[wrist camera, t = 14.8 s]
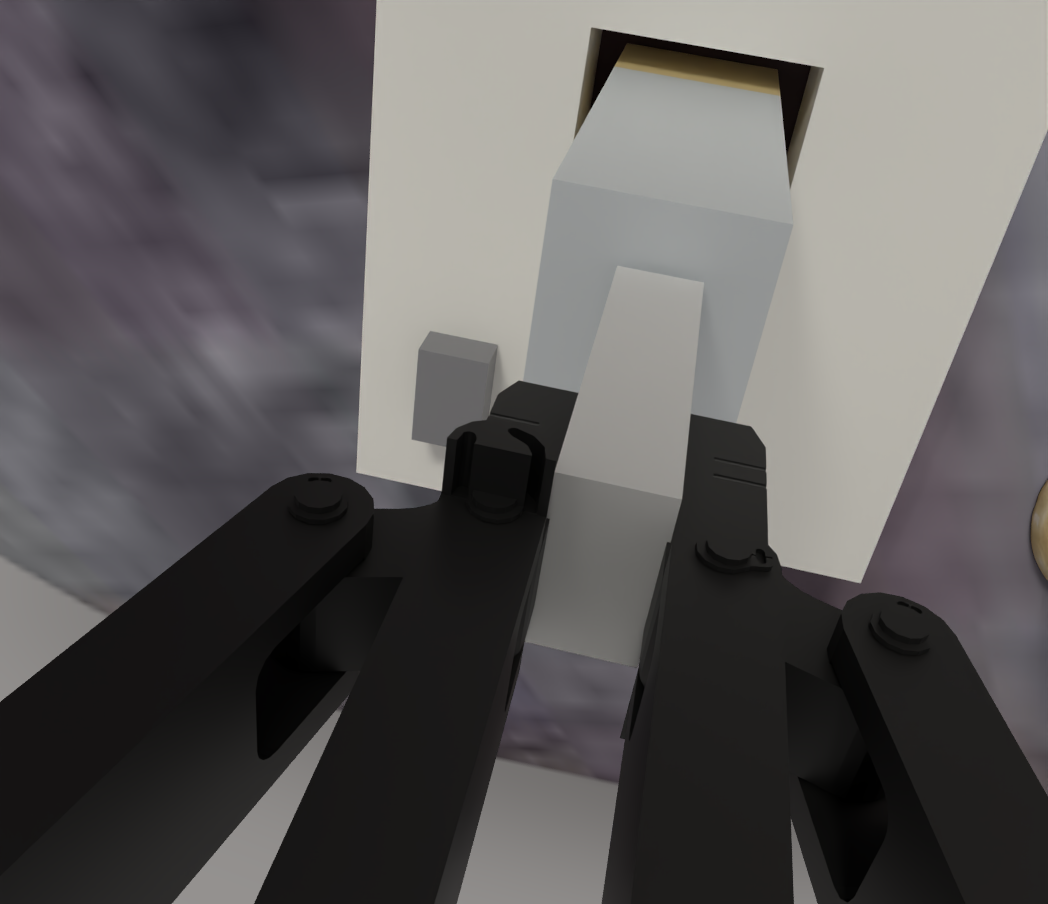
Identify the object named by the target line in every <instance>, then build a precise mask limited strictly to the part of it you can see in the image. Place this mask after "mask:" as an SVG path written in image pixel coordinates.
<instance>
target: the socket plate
mask: <svg viewBox="0 0 1048 904" xmlns="http://www.w3.org/2000/svg"><path fill="white" fill-rule="evenodd" d="M603 29H604V30H610V31H616V32H622V33H627V34H633V35H639V36H644V37H650V38H656V39H662V40H667V41H673V42H679V43H685V44H690V45H696V46H702V47H707V48H713V49H719V50H725V51H730V52H736V53H742V54H748V55H753V56H759V57H765V58H770V59H776V60H782V61H788V62H793V63H799V64H805V65H810V66H811V69H810V72H809V76H808V80H807V83H806V87H805V91H804V94H803V98H802V102H801V105H800V109H799V113H798V116H797V120H796V123H795V127H794V131H793V134H792V138H791V142H790V145H789V149H788V153H787V166H788V176H789V185H790V195H791V205H792V215H793V228H792V231H791V235H790V238H789V242H788V245H787V249H786V252H785V256H784V259H783V263H782V266H781V269H780V273H779V276H778V280H777V283H776V287H775V290H774V294H773V297H772V301H771V304H770V308H769V311H768V314H767V318H766V321H765V325H764V328H763V332H762V335H761V339H760V342H759V346H758V349H757V353H756V356H755V359H754V363H753V366H752V370H751V373H750V377H749V380H748V384H747V387H746V391H745V394H744V397H743V401H742V404H741V408H740V411H739V415H738V418H737V422H736V423H737V424H742V425H747V426H751V427H752V428H753V429H754V431H755V432H756V434H757V435H758V437H759V438H760V440H761V441H762V443H763V444H764V446H765V447H766V474H767V486H766V489H767V514H768V545H769V546H770V547H771V548H772V549H773V551H774V552H775V553H776V554H777V556H778V559H779V562H780V565H781V566H785V567H789V568H794V569H798V570H803V571H807V572H812V573H816V574H821V575H826V576H830V577H835V578H839V579H844V580H848V581H853V582H857V583H861V581H862V579H863V576H864V574H865V571H866V569H867V566H868V564H869V562H870V559H871V557H872V554H873V552H874V550H875V547H876V545H877V542H878V540H879V537H880V535H881V533H882V530H883V528H884V525H885V523H886V520H887V518H888V516H889V513H890V511H891V508H892V506H893V503H894V501H895V499H896V496H897V494H898V491H899V489H900V487H901V484H902V482H903V479H904V477H905V474H906V472H907V470H908V467H909V465H910V462H911V460H912V457H913V455H914V453H915V450H916V448H917V445H918V443H919V440H920V438H921V436H922V433H923V431H924V428H925V426H926V424H927V421H928V419H929V416H930V414H931V411H932V409H933V407H934V404H935V402H936V399H937V397H938V394H939V392H940V390H941V387H942V385H943V382H944V380H945V377H946V375H947V373H948V370H949V368H950V365H951V363H952V361H953V358H954V356H955V353H956V351H957V348H958V346H959V344H960V341H961V339H962V336H963V334H964V331H965V329H966V327H967V324H968V322H969V319H970V317H971V314H972V312H973V310H974V307H975V305H976V302H977V300H978V297H979V295H980V293H981V290H982V288H983V285H984V283H985V281H986V278H987V276H988V273H989V271H990V268H991V266H992V264H993V261H994V259H995V256H996V254H997V251H998V249H999V247H1000V244H1001V242H1002V239H1003V237H1004V234H1005V232H1006V230H1007V227H1008V225H1009V222H1010V220H1011V218H1012V215H1013V213H1014V210H1015V208H1016V205H1017V203H1018V201H1019V198H1020V196H1021V193H1022V191H1023V188H1024V186H1025V184H1026V181H1027V179H1028V176H1029V174H1030V171H1031V169H1032V167H1033V164H1034V162H1035V159H1036V157H1037V155H1038V152H1039V150H1040V147H1041V145H1042V142H1043V140H1044V138H1045V135H1046V133H1047V130H1048V0H377V6H376V30H375V53H374V76H373V99H372V122H371V146H370V169H369V192H368V215H367V238H366V261H365V285H364V308H363V331H362V354H361V377H360V400H359V424H358V447H357V470H356V472H357V473H361V474H366V475H370V476H375V477H379V478H384V479H388V480H393V481H398V482H402V483H407V484H411V485H416V486H420V487H425V488H429V489H434V490H439V491H442V482H443V472H444V463H445V453H446V443H447V437H448V436H449V435H450V434H451V433H452V432H453V431H454V430H455V429H456V428H457V427H460V426H462V425H465V424H467V423H470V422H472V421H481V420H487V418H488V416H489V415H490V411H491V409H492V407H493V404H494V402H495V400H496V398H497V395H498V394H499V393H500V392H502V391H503V390H505V389H506V388H508V387H509V386H511V385H513V384H514V383H516V382H517V381H523V378H524V371H525V364H526V358H527V351H528V344H529V337H530V330H531V323H532V317H533V310H534V303H535V296H536V289H537V282H538V275H539V269H540V262H541V255H542V248H543V241H544V234H545V227H546V221H547V214H548V207H549V200H550V193H551V186H552V179H553V177H554V176H555V174H556V172H557V170H558V168H559V166H560V165H561V163H562V161H563V159H564V157H565V155H566V154H567V152H568V150H569V148H570V146H571V145H572V143H573V141H574V139H575V137H576V135H577V134H578V132H579V130H580V128H581V126H582V125H583V123H584V121H585V119H586V117H587V115H588V114H589V112H590V106H591V100H592V94H593V87H594V81H595V75H596V69H597V63H598V56H599V50H600V44H601V38H602V31H603Z"/></svg>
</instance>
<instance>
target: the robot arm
mask: <svg viewBox="0 0 1048 904" xmlns="http://www.w3.org/2000/svg"><path fill="white" fill-rule="evenodd" d="M703 288H704V282H698V281H693V280H688V279H683V278H678V277H673V276H668V275H663V274H658V273H653V272H647V271H642V270H637V269H632V268H627V267H622V266H617V268H616V271H615V275H614V278H613V281H612V284H611V288H610V291H609V294H608V298H607V301H606V304H605V308H604V311H603V314H602V317H601V321H600V324H599V327H598V331H597V334H596V337H595V340H594V344H593V347H592V350H591V354H590V357H589V360H588V363H587V367H586V370H585V373H584V377H583V380H582V383H581V387H580V390H579V393H577V392H572V391H567V390H562V389H557V388H553V387H548V386H543V385H538V384H533V383H529V382H524V381H517V382H516V383H514V384H513V385H511V386H509V387H508V388H506V389H505V390H503V391H502V392H500V393H499V394H498V395H497V398H496V400H495V402H494V404H493V407H492V409H491V411H490V415H489V416H488V418H487V420H481V421H472V422H470V423H467V424H465V425H462V426H460V427H457V428H456V429H455V430H454V431H453V432H452V433H451V434H450V435H449V436H448V437H447V443H446V453H445V463H444V472H443V482H442V492H441V496H440V498H439V500H438V501H437V502H435V503H433V504H430V505H426V506H422V507H417V508H406V509H374V502H373V498H372V497H371V495H370V494H369V493H368V491H367V490H366V489H365V487H363V486H361V485H360V484H358V483H356V482H354V481H353V480H351V479H349V478H345V477H341V476H337V475H333V474H325V473H307V474H303V475H298V476H293V477H289V478H286V479H285V480H283V481H281V482H279V483H277V484H275V485H273V486H272V487H270V488H269V489H268V490H267V491H265V492H264V493H263V494H262V495H260V496H259V497H258V498H257V499H255V500H254V501H253V502H251V503H250V504H249V505H248V506H246V507H245V508H244V509H243V510H241V511H240V512H239V513H238V514H236V515H235V516H234V517H233V518H231V519H230V520H229V521H228V522H226V523H225V524H224V525H222V526H221V527H220V528H219V529H217V530H216V531H215V532H214V533H212V534H211V535H210V536H209V537H207V538H206V539H205V540H204V541H202V542H201V543H200V544H199V545H197V546H196V547H195V548H194V549H192V550H191V551H190V552H188V553H187V554H186V555H185V556H183V557H182V558H181V559H180V560H178V561H177V562H176V563H175V564H173V565H172V566H171V567H170V568H168V569H167V570H166V571H165V572H163V573H162V574H161V575H159V576H158V577H157V578H156V579H154V580H153V581H152V582H151V583H149V584H148V585H147V586H146V587H144V588H143V589H142V590H141V591H139V592H138V593H137V594H136V595H134V596H133V597H132V598H131V599H129V600H128V601H127V602H125V603H124V604H123V605H122V606H120V607H119V608H118V609H117V610H115V611H114V612H113V613H112V614H110V615H109V616H108V617H107V618H105V619H104V620H103V621H102V622H100V623H99V624H98V625H96V626H95V627H94V628H93V629H91V630H90V631H89V632H88V633H86V634H85V635H84V636H83V637H81V638H80V639H79V640H78V641H76V642H75V643H74V644H73V645H71V646H70V647H69V648H68V649H66V650H65V651H64V652H63V653H61V654H60V655H59V656H57V657H56V658H55V659H54V660H52V661H51V662H50V663H49V664H47V665H46V666H45V667H44V668H42V669H41V670H40V671H39V672H37V673H36V674H35V675H33V676H32V677H31V678H30V679H28V680H27V681H26V682H25V683H24V684H22V685H21V686H20V687H18V688H17V689H16V690H15V691H14V692H12V693H11V694H10V695H8V696H7V697H6V698H4V699H3V700H2V701H1V702H0V904H172V903H173V901H174V900H175V899H176V898H177V897H178V896H179V894H180V893H181V892H182V891H183V889H185V887H186V886H187V885H188V884H189V883H190V881H191V880H192V879H193V878H194V877H195V875H196V874H197V873H198V872H199V871H200V870H201V868H202V867H203V866H204V865H205V864H206V863H207V861H208V860H209V859H210V858H211V857H212V856H213V854H214V853H215V852H216V851H217V850H218V848H219V847H220V846H221V845H222V844H223V843H224V841H225V840H226V839H227V838H228V837H229V835H230V834H231V833H232V832H233V831H234V830H235V828H236V827H237V826H238V825H239V824H240V823H241V821H242V820H243V819H244V818H245V817H246V815H247V814H248V813H249V812H250V811H251V810H252V808H253V807H254V806H255V805H256V804H257V802H258V801H259V800H260V799H261V798H262V797H263V795H264V794H265V793H266V792H267V791H268V789H269V788H270V787H271V786H272V785H273V783H274V782H275V781H276V780H277V779H278V777H280V775H281V774H282V773H283V772H284V771H285V769H286V768H287V767H288V766H289V764H290V763H291V762H292V761H293V760H294V759H295V758H296V756H297V755H298V754H299V753H300V752H301V751H302V749H303V748H304V747H305V746H306V745H307V743H308V742H309V741H310V740H311V739H312V738H313V736H314V735H315V734H316V733H317V732H318V730H319V729H320V728H321V727H322V726H323V725H324V723H325V722H326V721H327V720H328V719H329V718H330V716H331V715H332V714H333V713H334V712H335V710H336V709H337V708H338V707H339V706H340V705H341V703H342V702H343V701H344V700H345V699H346V698H347V696H348V695H349V694H350V695H349V697H348V699H347V702H346V704H345V706H344V708H343V710H342V712H341V715H340V717H339V719H338V721H337V723H336V726H335V728H334V730H333V732H332V734H331V737H330V739H329V741H328V743H327V745H326V748H325V750H324V752H323V754H322V756H321V759H320V761H319V763H318V765H317V767H316V769H315V772H314V774H313V776H312V778H311V780H310V783H309V785H308V787H307V789H306V791H305V793H304V796H303V798H302V800H301V802H300V804H299V807H298V809H297V811H296V813H295V815H294V818H293V820H292V822H291V824H290V826H289V829H288V831H287V833H286V835H285V837H284V839H283V842H282V844H281V846H280V849H279V850H278V853H277V855H276V857H275V859H274V861H273V864H272V866H271V868H270V870H269V872H268V875H267V877H266V879H265V881H264V883H263V885H262V888H261V890H260V892H259V894H258V896H257V899H256V901H255V903H254V904H456V903H457V900H458V896H459V893H460V889H461V885H462V882H463V878H464V874H465V871H466V867H467V863H468V859H469V856H470V852H471V848H472V845H473V841H474V837H475V833H476V830H477V826H478V822H479V818H480V815H481V811H482V807H483V804H484V800H485V796H486V793H487V789H488V785H489V781H490V778H491V774H492V770H493V767H494V763H495V759H496V755H497V752H498V748H499V744H500V741H501V737H502V733H503V729H504V726H505V722H506V718H507V715H508V711H509V707H510V703H511V700H512V696H513V692H514V689H515V685H516V681H517V677H518V674H519V670H520V664H521V658H522V653H523V647H524V642H527V643H532V644H536V645H540V646H545V647H549V648H553V649H558V650H562V651H566V652H570V653H575V654H579V655H583V656H587V657H592V658H596V659H600V660H605V661H609V662H613V663H618V664H622V665H626V666H631V667H635V668H637V667H638V663H639V669H638V673H637V676H636V680H635V684H634V688H633V691H632V695H631V699H630V703H629V706H628V710H627V714H626V718H625V721H624V725H623V729H622V733H621V736H620V738H622V739H625V743H624V750H623V757H622V764H621V771H620V778H619V785H618V793H617V800H616V807H615V814H614V821H613V828H612V835H611V842H610V849H609V856H608V864H607V870H606V877H605V884H604V892H603V898H602V904H794V897H793V870H792V843H791V819H792V822H793V825H794V829H795V832H796V835H797V838H798V841H799V845H800V848H801V851H802V854H803V858H804V861H805V864H806V867H807V871H808V874H809V877H810V880H811V883H812V886H813V890H814V893H815V896H816V899H817V903H818V904H1048V796H1047V794H1046V793H1045V791H1044V789H1043V787H1042V786H1041V784H1040V782H1039V780H1038V779H1037V777H1036V775H1035V773H1034V772H1033V770H1032V768H1031V766H1030V765H1029V763H1028V761H1027V759H1026V757H1025V756H1024V754H1023V752H1022V750H1021V749H1020V747H1019V745H1018V743H1017V742H1016V740H1015V738H1014V736H1013V735H1012V733H1011V731H1010V729H1009V728H1008V726H1007V724H1006V722H1005V721H1004V719H1003V717H1002V715H1001V714H1000V712H999V710H998V708H997V707H996V705H995V703H994V701H993V700H992V698H991V696H990V694H989V693H988V691H987V689H986V687H985V686H984V684H983V682H982V680H981V679H980V677H979V675H978V673H977V672H976V670H975V668H974V666H973V665H972V663H971V661H970V659H969V658H968V656H967V654H966V652H965V651H964V649H963V647H962V645H961V644H960V642H959V640H958V638H957V636H956V635H955V634H954V633H953V631H952V630H951V629H950V628H949V627H948V625H947V624H946V623H945V622H944V620H942V619H941V618H940V617H938V616H937V615H935V614H934V613H933V612H931V611H930V610H929V609H927V608H926V607H924V606H922V605H920V604H918V603H915V602H913V601H911V600H908V599H906V598H904V597H900V596H895V595H890V594H885V593H868V594H860V595H858V596H856V597H854V598H852V599H850V600H849V601H847V603H846V605H845V607H844V609H843V610H840V609H838V608H835V607H833V606H831V605H829V604H826V603H824V602H822V601H820V600H817V599H815V598H814V597H812V596H810V595H808V594H806V593H804V592H802V591H800V590H799V589H798V588H796V587H795V586H794V585H792V584H791V583H790V582H788V581H787V580H786V579H785V578H784V577H783V576H782V568H781V565H780V562H779V559H778V556H777V554H776V553H775V552H774V551H773V549H772V548H771V547H770V546H769V545H768V514H767V489H766V486H767V474H766V447H765V446H764V444H763V443H762V441H761V440H760V438H759V437H758V435H757V434H756V432H755V431H754V429H753V428H752V427H751V426H747V425H742V424H737V423H733V422H728V421H723V420H718V419H713V418H709V417H704V416H699V415H694V414H691V406H692V396H693V386H694V376H695V366H696V356H697V347H698V337H699V327H700V317H701V307H702V297H703ZM639 659H640V662H639Z"/></svg>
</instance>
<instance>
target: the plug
mask: <svg viewBox="0 0 1048 904" xmlns="http://www.w3.org/2000/svg"><path fill="white" fill-rule="evenodd" d="M792 228H793V215H792V205H791V195H790V185H789V176H788V166H787V156H786V146H785V136H784V126H783V116H782V106H781V97H780V87H779V77H778V69H772V68H766V67H761V66H755V65H749V64H744V63H738V62H732V61H727V60H721V59H715V58H710V57H704V56H698V55H692V54H687V53H681V52H675V51H670V50H664V49H658V48H653V47H647V46H641V45H635V44H630V43H627V44H626V46H625V48H624V50H623V52H622V53H621V55H620V57H619V59H618V61H617V63H616V64H615V66H614V68H613V70H612V72H611V74H610V75H609V77H608V79H607V81H606V83H605V84H604V86H603V88H602V90H601V92H600V94H599V95H598V97H597V99H596V101H595V103H594V104H593V106H592V108H591V110H590V112H589V114H588V115H587V117H586V119H585V121H584V123H583V125H582V126H581V128H580V130H579V132H578V134H577V135H576V137H575V139H574V141H573V143H572V145H571V146H570V148H569V150H568V152H567V154H566V155H565V157H564V159H563V161H562V163H561V165H560V166H559V168H558V170H557V172H556V174H555V176H554V177H553V179H552V186H551V193H550V200H549V207H548V214H547V221H546V227H545V234H544V241H543V248H542V255H541V262H540V269H539V275H538V282H537V289H536V296H535V303H534V310H533V317H532V323H531V330H530V337H529V344H528V351H527V358H526V364H525V371H524V378H523V381H524V382H529V383H533V384H538V385H543V386H548V387H553V388H557V389H562V390H567V391H572V392H577V393H579V390H580V387H581V383H582V380H583V377H584V373H585V370H586V367H587V363H588V360H589V357H590V354H591V350H592V347H593V344H594V340H595V337H596V334H597V331H598V327H599V324H600V321H601V317H602V314H603V311H604V308H605V304H606V301H607V298H608V294H609V291H610V288H611V284H612V281H613V278H614V275H615V271H616V268H617V266H622V267H627V268H632V269H637V270H642V271H647V272H653V273H658V274H663V275H668V276H673V277H678V278H683V279H688V280H693V281H698V282H704V288H703V297H702V307H701V317H700V327H699V337H698V347H697V356H696V366H695V376H694V386H693V396H692V406H691V414H694V415H699V416H704V417H709V418H713V419H718V420H723V421H728V422H733V423H736V422H737V418H738V415H739V411H740V408H741V404H742V401H743V397H744V394H745V391H746V387H747V384H748V380H749V377H750V373H751V370H752V366H753V363H754V359H755V356H756V353H757V349H758V346H759V342H760V339H761V335H762V332H763V328H764V325H765V321H766V318H767V314H768V311H769V308H770V304H771V301H772V297H773V294H774V290H775V287H776V283H777V280H778V276H779V273H780V269H781V266H782V263H783V259H784V256H785V252H786V249H787V245H788V242H789V238H790V235H791V231H792Z"/></svg>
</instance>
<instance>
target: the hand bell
mask: <svg viewBox="0 0 1048 904" xmlns="http://www.w3.org/2000/svg"><path fill="white" fill-rule="evenodd" d="M1031 544H1032V550H1033V554H1034V557H1035V560H1036V562H1037V564H1038V566H1039V568H1040V570H1041V572H1042V573H1043V575H1044V577H1045V578H1046V579H1047V580H1048V480H1047V481H1046V483H1045V484H1044V486H1043V487H1042V489H1041V491H1040V493H1039V495H1038V499H1037V502H1036V505H1035V508H1034V510H1033V514H1032V521H1031Z"/></svg>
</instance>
